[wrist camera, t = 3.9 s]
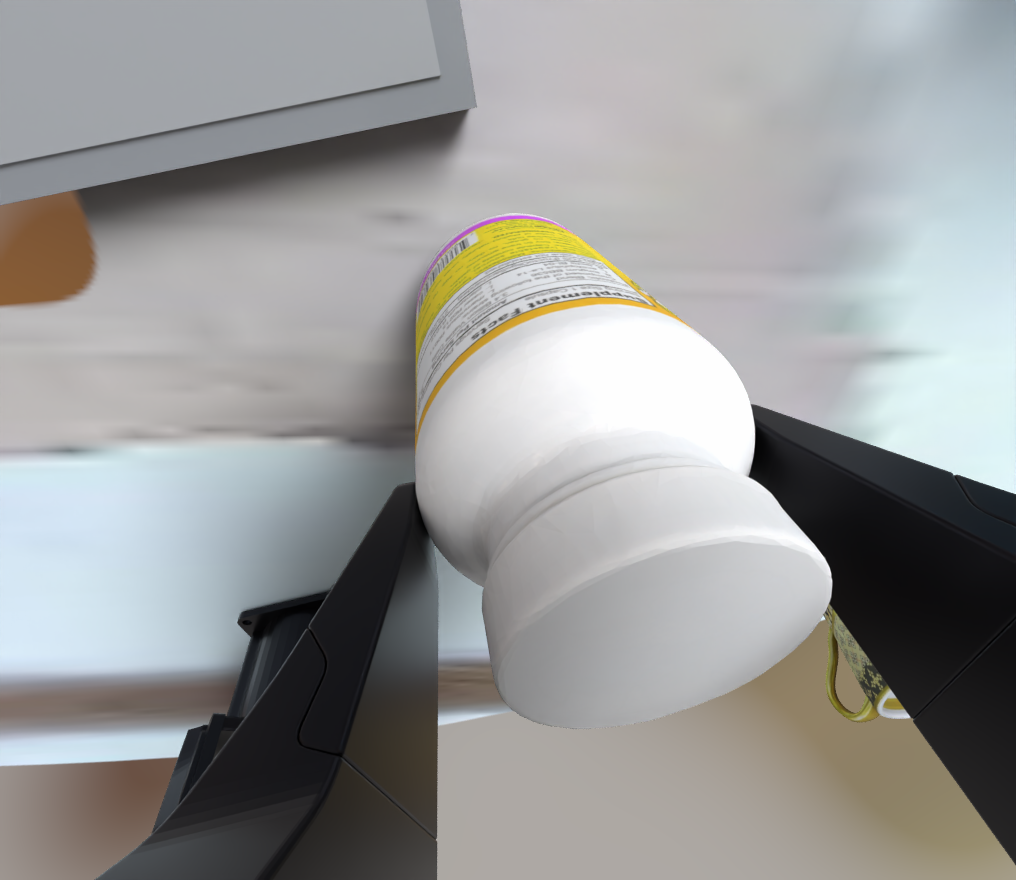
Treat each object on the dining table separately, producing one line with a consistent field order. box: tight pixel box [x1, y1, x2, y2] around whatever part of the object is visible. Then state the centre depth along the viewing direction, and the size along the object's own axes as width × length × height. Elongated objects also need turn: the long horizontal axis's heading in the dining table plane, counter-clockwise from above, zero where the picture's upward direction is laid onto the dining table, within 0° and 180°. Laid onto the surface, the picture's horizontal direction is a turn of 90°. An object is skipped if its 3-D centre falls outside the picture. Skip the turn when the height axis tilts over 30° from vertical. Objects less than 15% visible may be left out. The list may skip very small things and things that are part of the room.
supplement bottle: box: [415, 213, 832, 729], centre depth 11 cm, size 7×7×13 cm
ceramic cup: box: [823, 604, 911, 722], centre depth 28 cm, size 13×10×10 cm
